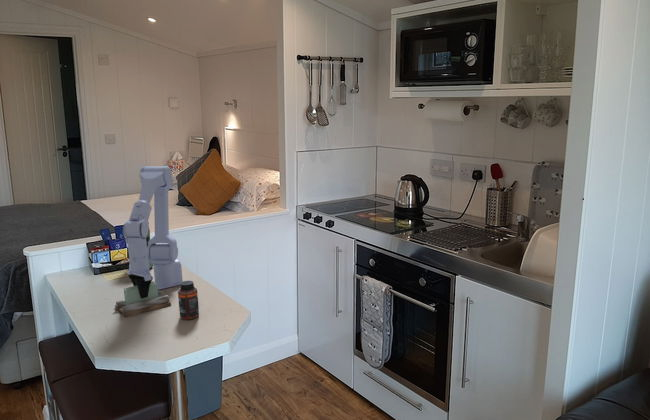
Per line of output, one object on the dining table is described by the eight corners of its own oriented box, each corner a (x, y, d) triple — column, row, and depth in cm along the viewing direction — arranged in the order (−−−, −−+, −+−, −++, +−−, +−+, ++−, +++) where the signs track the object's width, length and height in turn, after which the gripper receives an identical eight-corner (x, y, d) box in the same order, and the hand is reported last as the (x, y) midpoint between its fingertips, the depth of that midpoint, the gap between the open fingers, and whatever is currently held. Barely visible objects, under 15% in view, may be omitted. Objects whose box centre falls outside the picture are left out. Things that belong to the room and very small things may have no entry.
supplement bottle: (203, 314, 167) (200, 280, 165) (192, 321, 162) (190, 286, 159) (186, 311, 169) (184, 278, 167) (176, 319, 164) (173, 284, 161)
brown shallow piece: (159, 296, 182) (158, 289, 182) (171, 305, 175) (170, 297, 174) (115, 308, 173) (114, 300, 173) (125, 317, 166) (124, 309, 165)
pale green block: (155, 298, 178) (153, 281, 177) (158, 300, 176) (157, 283, 174) (125, 305, 172) (123, 288, 170) (128, 308, 169) (126, 290, 168)
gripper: (118, 254, 173) (122, 293, 176) (134, 264, 162) (138, 305, 165) (139, 250, 178) (143, 287, 181) (156, 259, 167) (159, 299, 170)
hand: (142, 296), depth 173 cm, fingers closed on pale green block, 3 cm apart
